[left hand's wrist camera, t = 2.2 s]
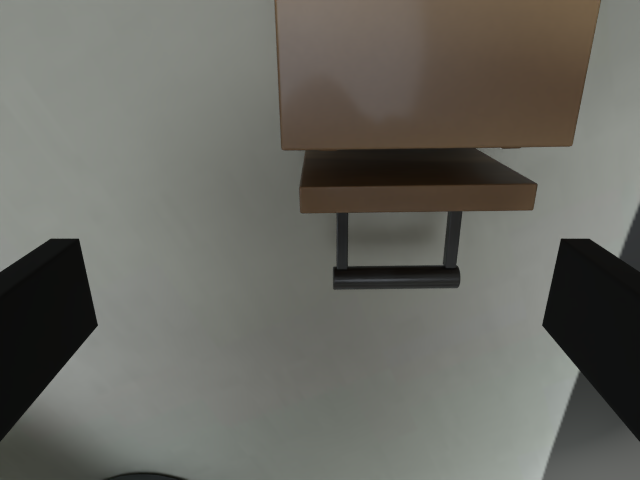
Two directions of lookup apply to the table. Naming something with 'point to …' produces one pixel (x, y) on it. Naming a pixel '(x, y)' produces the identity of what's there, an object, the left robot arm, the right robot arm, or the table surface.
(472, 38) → the cabinet
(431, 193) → the drawer
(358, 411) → the table surface
